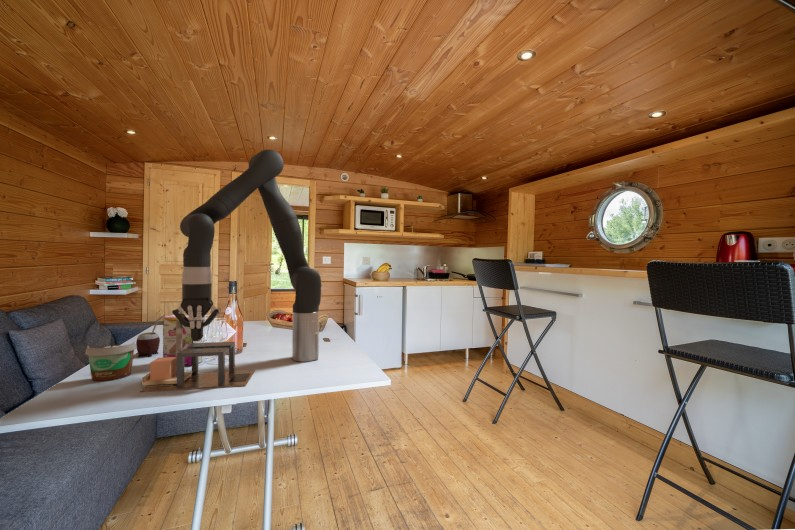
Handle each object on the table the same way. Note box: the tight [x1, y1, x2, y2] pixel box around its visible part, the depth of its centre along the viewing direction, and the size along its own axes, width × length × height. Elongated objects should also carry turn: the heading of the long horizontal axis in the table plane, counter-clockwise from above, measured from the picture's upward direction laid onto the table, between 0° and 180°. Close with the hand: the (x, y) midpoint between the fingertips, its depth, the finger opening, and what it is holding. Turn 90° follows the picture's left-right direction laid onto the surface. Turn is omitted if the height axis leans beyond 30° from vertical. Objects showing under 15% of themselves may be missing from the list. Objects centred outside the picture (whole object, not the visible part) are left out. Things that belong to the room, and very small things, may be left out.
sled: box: [141, 321, 192, 386], centre depth 101 cm, size 10×7×17 cm
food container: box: [84, 341, 137, 383], centre depth 104 cm, size 12×6×10 cm, turn 117°
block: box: [149, 356, 176, 380], centre depth 101 cm, size 5×5×5 cm
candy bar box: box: [162, 314, 203, 367], centre depth 119 cm, size 11×5×16 cm, turn 84°
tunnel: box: [139, 341, 256, 393], centre depth 103 cm, size 27×13×10 cm, turn 101°
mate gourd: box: [135, 314, 166, 358], centre depth 129 cm, size 8×8×15 cm
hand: (197, 340), depth 102 cm, fingers closed
